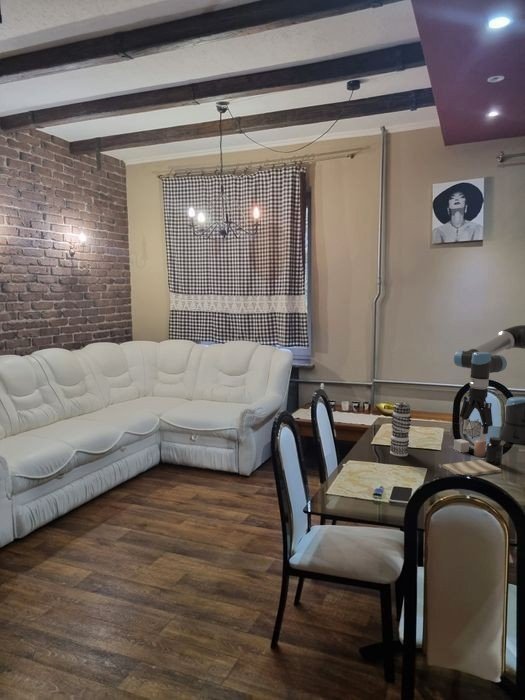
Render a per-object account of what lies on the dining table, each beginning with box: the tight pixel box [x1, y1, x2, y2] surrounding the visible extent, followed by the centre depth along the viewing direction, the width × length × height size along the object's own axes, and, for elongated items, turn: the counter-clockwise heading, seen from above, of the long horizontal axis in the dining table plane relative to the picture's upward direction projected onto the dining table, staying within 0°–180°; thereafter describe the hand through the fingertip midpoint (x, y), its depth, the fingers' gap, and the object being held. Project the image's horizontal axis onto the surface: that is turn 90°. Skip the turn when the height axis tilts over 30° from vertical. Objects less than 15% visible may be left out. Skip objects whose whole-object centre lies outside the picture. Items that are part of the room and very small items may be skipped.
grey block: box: [453, 438, 470, 453], centre depth 245 cm, size 5×5×5 cm
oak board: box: [441, 459, 502, 477], centre depth 220 cm, size 22×12×1 cm, turn 110°
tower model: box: [389, 401, 412, 457], centre depth 236 cm, size 9×9×25 cm
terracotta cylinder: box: [473, 439, 487, 458], centre depth 238 cm, size 5×5×7 cm
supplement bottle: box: [485, 436, 504, 467], centre depth 227 cm, size 7×7×12 cm
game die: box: [464, 418, 483, 440], centre depth 217 cm, size 9×8×10 cm
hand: (474, 437), depth 218 cm, fingers closed on game die, 9 cm apart
